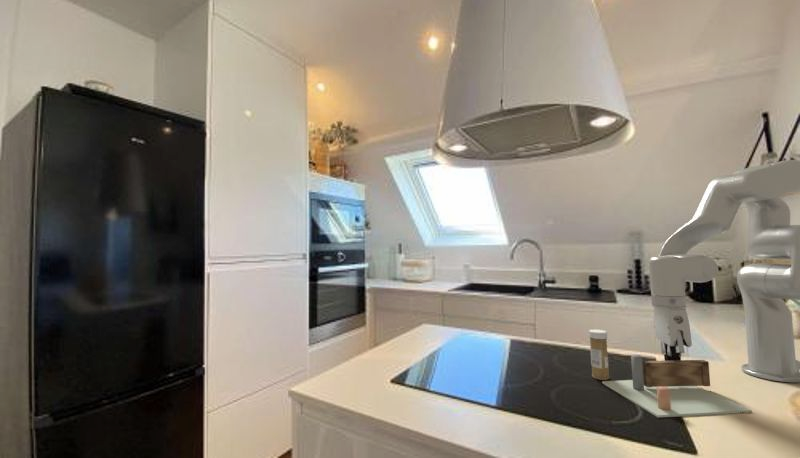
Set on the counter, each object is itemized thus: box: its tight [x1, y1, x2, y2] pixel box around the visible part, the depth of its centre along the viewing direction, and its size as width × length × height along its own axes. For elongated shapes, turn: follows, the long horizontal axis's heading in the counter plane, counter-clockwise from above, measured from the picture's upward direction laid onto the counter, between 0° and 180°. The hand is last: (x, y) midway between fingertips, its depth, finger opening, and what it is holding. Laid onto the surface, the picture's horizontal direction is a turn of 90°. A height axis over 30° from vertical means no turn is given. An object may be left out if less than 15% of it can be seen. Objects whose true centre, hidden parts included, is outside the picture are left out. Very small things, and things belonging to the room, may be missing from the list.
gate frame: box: [601, 354, 753, 419], centre depth 89 cm, size 22×20×9 cm
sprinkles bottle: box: [588, 329, 611, 381], centre depth 103 cm, size 5×5×13 cm
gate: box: [642, 359, 711, 387], centre depth 93 cm, size 16×2×6 cm, turn 88°
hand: (673, 369), depth 96 cm, fingers closed
